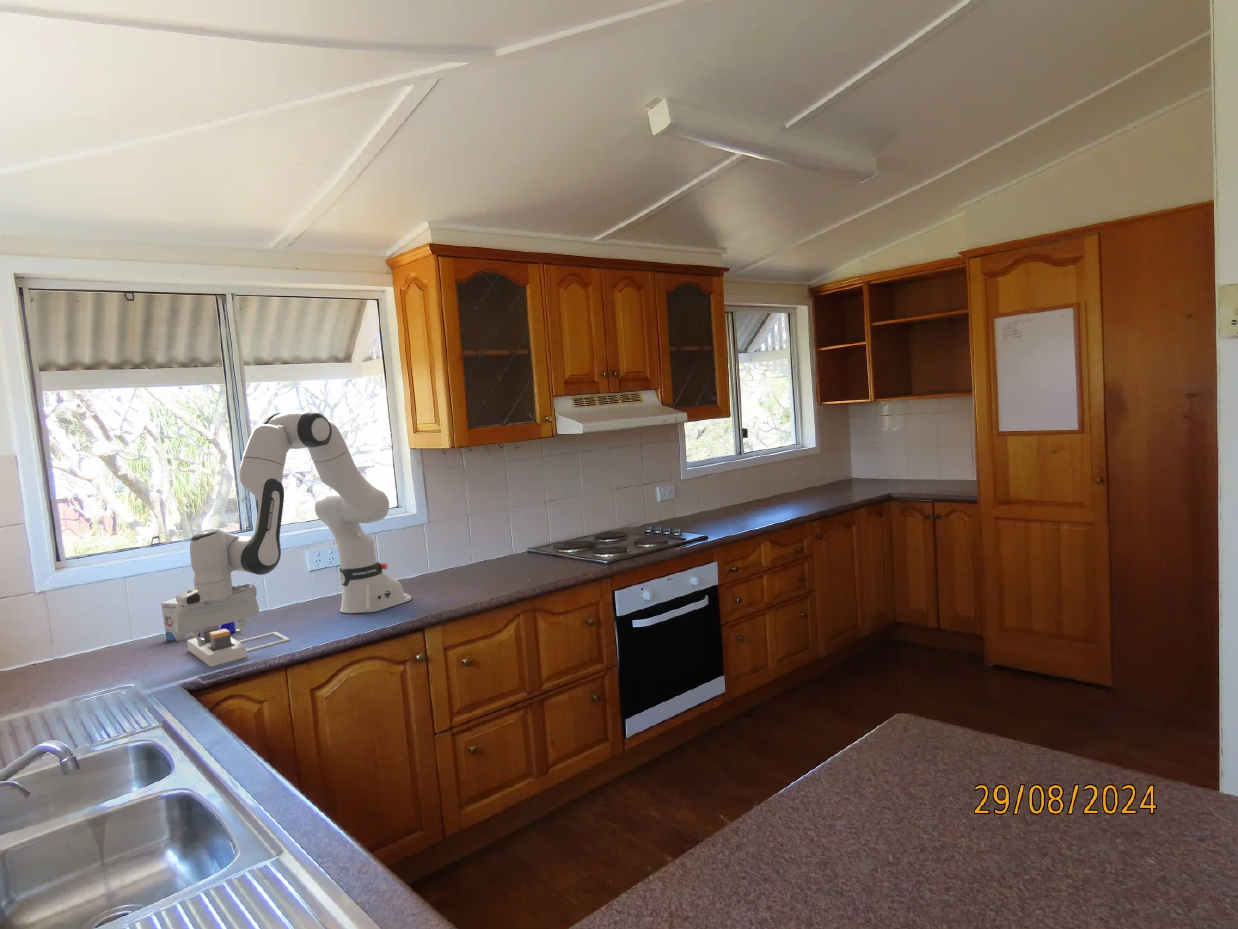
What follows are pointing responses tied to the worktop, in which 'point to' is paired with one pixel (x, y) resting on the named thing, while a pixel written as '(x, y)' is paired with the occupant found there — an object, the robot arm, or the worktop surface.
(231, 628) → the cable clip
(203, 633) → the twin plug
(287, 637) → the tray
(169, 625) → the ink box
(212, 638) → the plug
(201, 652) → the white slotted block
